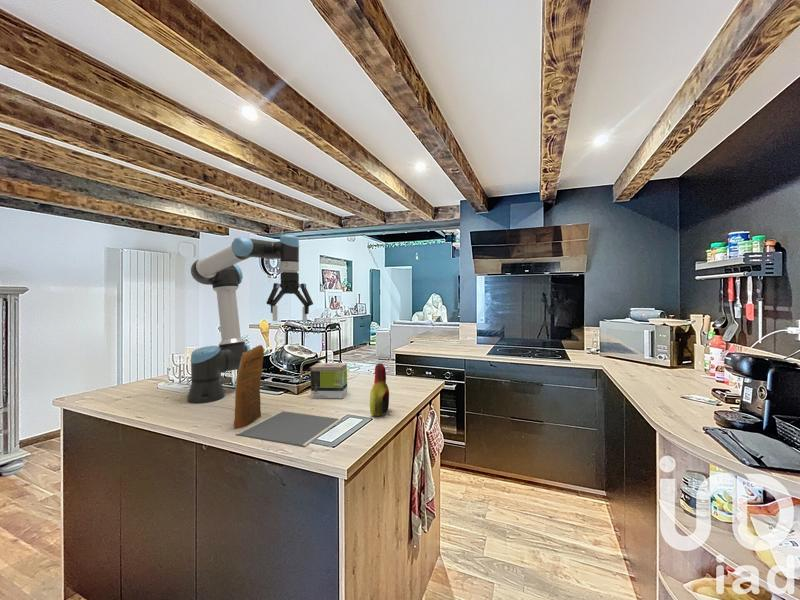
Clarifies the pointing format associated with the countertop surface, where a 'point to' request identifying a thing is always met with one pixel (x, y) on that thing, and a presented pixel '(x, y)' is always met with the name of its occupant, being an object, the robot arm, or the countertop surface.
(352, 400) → the countertop surface
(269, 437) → the mat
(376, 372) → the bottle
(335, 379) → the tea box
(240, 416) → the pancake mix bag
